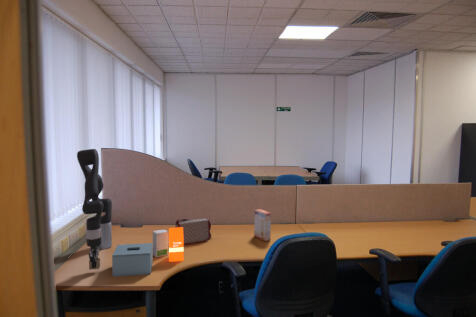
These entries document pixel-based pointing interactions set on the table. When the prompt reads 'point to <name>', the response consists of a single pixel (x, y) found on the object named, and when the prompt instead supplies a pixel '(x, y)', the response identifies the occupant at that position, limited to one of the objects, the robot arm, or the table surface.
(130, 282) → the table surface
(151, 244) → the box
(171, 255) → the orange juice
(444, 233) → the table surface
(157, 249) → the skincare box
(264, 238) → the cracker box
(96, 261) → the brown rectangular block
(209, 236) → the handbag
